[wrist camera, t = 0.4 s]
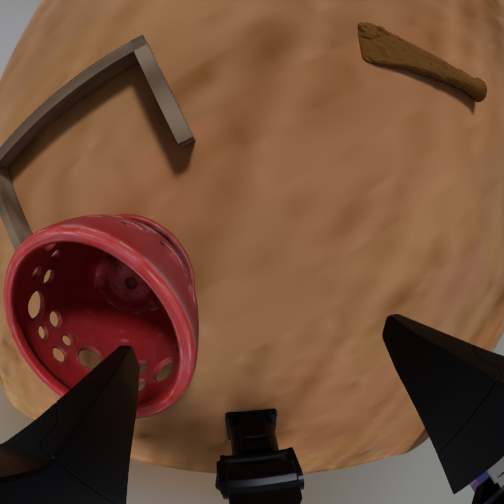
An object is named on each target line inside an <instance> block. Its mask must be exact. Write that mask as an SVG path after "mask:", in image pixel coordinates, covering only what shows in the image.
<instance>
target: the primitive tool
mask: <svg viewBox="0 0 504 504" xmlns="http://www.w3.org/2000/svg"><path fill="white" fill-rule="evenodd" d="M358 37H359V43H360V48H361V53H362V57H363V59H364V60H365V61H366V62H370V63H374V64H379V65H383V66H389V67H395V68H400V69H406V70H409V71H413V72H416V73H418V74H422V75H423V74H424V75H426V76H429V77H432V78H435V79H438V80H440V81H443V82H446V83H448V84H451V85H454V86H455V87H457V88H460V89H462V90H463V91H465V92H467V93H468V94H470V96H471V97H472V98H473V100H474V101H476V102H481V101H483V100H484V98H485V97H486V94H487V86H486V84H485V82H484V81H482V80H481V79H479V78H473V77H471V76H470V75H468V74H467V73H465V72H463V71H462V70H460V69H457V68H455V67H453V66H452V65H450V64H448V63H447V62H445V61H444V60H442V59H440V58H438V57H436V56H434V55H433V54H431V53H429V52H427V51H425V50H423V49H421V48H419V47H417V46H416V45H414V44H412V43H410V42H408V41H406V40H404V39H402V38H400V37H399V36H397V35H394V34H392V33H391V32H388V31H386V30H385V29H384V28H383V27H382V26H375V25H373V24H371V23H359V24H358Z"/></svg>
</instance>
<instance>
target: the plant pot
mask: <svg viewBox="0 0 504 504" xmlns="http://www.w3.org/2000/svg"><path fill="white" fill-rule="evenodd" d="M55 251H56V253H55V254H54V255H53V256H52V254H53V253H54V252H55ZM36 267H37V270H36V271H35V273H34V274H33V272H34V270H35V269H36ZM50 269H51V273H50V277H49V279H48V280H47V282H45V283H44V276H45V274H46V272H47V271H48V270H50ZM35 291H38V293H39V295H40V310H39V313H38V315H37V316H36V317H35V318H31V317H30V315H29V312H28V304H29V300H30V298H31V296H32V295H33V293H34V292H35ZM4 306H5V312H6V318H7V322H8V325H9V328H10V331H11V334H12V337H13V339H14V341H15V343H16V346H17V347H18V349H19V351H20V353H21V354H22V356H23V358H24V359H25V361H26V362H27V363H28V365H29V366H30V367H31V369H32V370H33V371H34V372H35V373H36V375H37V376H38V377H39V378H40V379H41V380H42V381H43V382H44V383H45V384H46V385H47V386H48V387H49V388H50V389H51V390H53V391H54V392H55V393H56V394H58V395H59V396H61V397H62V396H63V395H65V394H66V393H67V392H68V391H69V390H70V389H71V388H72V387H74V386H75V385H76V384H77V383H78V382H79V381H80V380H81V379H83V378H84V377H85V376H86V375H87V374H88V373H89V372H90V371H92V370H93V369H89V368H87V367H85V366H83V365H82V364H81V362H80V360H79V357H78V354H79V352H80V351H82V350H90V351H93V352H95V353H96V354H97V355H99V357H100V358H101V360H102V361H103V360H104V359H105V358H106V357H108V356H109V355H110V354H111V353H112V352H113V351H114V350H116V349H117V348H118V347H119V346H122V345H130V346H132V347H133V349H134V352H135V354H136V357H137V360H138V362H139V366H141V365H143V364H146V365H148V367H147V369H146V371H145V372H143V373H140V374H139V384H140V383H146V385H145V387H144V388H143V389H142V390H141V391H139V392H138V403H137V412H136V418H143V417H148V416H152V415H155V414H158V413H160V412H162V411H164V410H166V409H167V408H169V407H170V406H172V405H173V404H174V403H176V402H177V401H178V400H179V399H180V398H181V396H182V395H183V394H184V392H185V391H186V389H187V388H188V386H189V384H190V382H191V379H192V377H193V374H194V371H195V367H196V361H197V351H198V337H199V321H198V306H197V300H196V296H195V279H194V272H193V268H192V265H191V262H190V259H189V257H188V255H187V253H186V251H185V250H184V248H183V246H182V245H181V244H180V242H179V241H178V240H177V238H176V237H175V236H174V235H173V234H172V233H171V232H169V231H168V230H167V229H166V228H165V227H163V226H162V225H160V224H158V223H157V222H155V221H153V220H150V219H148V218H145V217H142V216H138V215H129V214H123V215H116V216H115V215H89V216H82V217H77V218H72V219H68V220H65V221H62V222H58V223H56V224H53V225H51V226H48V227H46V228H44V229H41V230H39V231H37V232H36V233H34V234H32V235H31V236H30V237H29V238H27V239H26V240H25V241H24V242H23V243H22V244H21V245H20V246H19V247H18V249H17V250H16V252H15V253H14V255H13V257H12V259H11V261H10V263H9V266H8V270H7V273H6V277H5V284H4ZM52 311H54V312H55V313H56V314H57V317H58V325H57V326H56V327H54V326H53V325H52V324H51V322H50V313H51V312H52ZM40 326H41V327H42V328H43V329H44V333H45V336H44V338H43V339H42V338H41V337H40V335H39V332H38V330H39V327H40ZM64 335H65V336H67V337H69V339H70V341H71V345H70V346H67V345H65V343H64V342H63V340H62V337H63V336H64ZM53 348H58V349H59V350H60V351H61V352H62V353H63V355H64V361H63V362H59V361H58V360H56V359H55V357H54V355H53ZM171 362H173V367H172V369H171V372H170V373H169V375H168V376H167V377H166V378H165V379H163V380H162V381H156V378H157V374H158V373H159V371H160V370H161V369H162V368H163V367H164V366H166V365H167V364H169V363H171ZM136 418H135V419H136Z"/></svg>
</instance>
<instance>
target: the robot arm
mask: <svg viewBox="0 0 504 504" xmlns="http://www.w3.org/2000/svg"><path fill="white" fill-rule="evenodd" d="M382 337H383V340H384V343H385V345H386V347H387V350H388V352H389V355H390V357H391V359H392V362H393V364H394V367H395V369H396V371H397V373H398V375H399V377H400V379H401V381H402V382H403V384H404V386H405V388H406V390H407V392H408V394H409V396H410V398H411V400H412V402H413V404H414V406H415V408H416V410H417V412H418V414H419V416H420V418H421V420H422V422H423V424H424V426H425V428H426V430H427V433H428V435H429V437H430V439H431V441H432V444H433V446H434V448H435V450H436V453H437V454H438V457H439V460H440V462H441V464H442V467H443V469H444V472H445V474H446V477H447V479H448V482H449V484H450V487H451V489H452V492H453V493H454V494H455V493H457V492H459V491H460V490H462V489H463V488H464V487H466V486H467V485H469V484H470V483H472V482H473V481H474V480H476V479H477V478H478V477H480V476H481V475H482V474H483V473H485V472H486V471H487V472H488V474H489V477H488V478H486V479H485V480H484V481H483V482H482V483H481V484H479V485H478V486H477V487H476V490H475V494H474V498H473V502H472V504H504V356H502V355H499V354H496V353H493V352H490V351H488V350H485V349H482V348H480V347H477V346H475V345H471V344H470V343H467V342H465V341H463V340H460V339H458V338H455V337H453V336H450V335H448V334H445V333H443V332H441V331H438V330H436V329H433V328H431V327H428V326H426V325H424V324H421V323H419V322H416V321H414V320H411V319H409V318H406V317H404V316H402V315H399V314H394V315H390V316H388V317H387V319H386V322H385V326H384V330H383V334H382ZM139 372H140V366H139V362H138V360H137V357H136V354H135V352H134V349H133V347H132V346H130V345H122V346H119V347H118V348H117V349H116V350H114V351H113V352H112V353H111V354H110V355H109V356H108V357H106V358H105V359H104V360H103V361H102V362H101V363H100V364H98V365H97V366H96V367H95V368H94V369H93V370H92V371H90V372H89V373H88V374H87V375H86V376H85V377H84V378H83V379H81V380H80V381H79V382H78V383H77V384H76V385H75V386H74V387H72V388H71V389H70V390H69V391H68V392H67V393H66V394H65V395H63V396H62V397H61V398H60V399H59V400H58V401H57V402H56V403H54V404H53V405H52V406H51V407H50V408H49V409H48V410H47V411H45V412H44V413H43V414H42V415H41V416H40V417H38V418H37V419H36V420H35V421H33V422H32V423H31V424H29V425H28V426H27V427H25V428H24V429H23V430H21V431H20V432H19V433H17V434H16V435H14V436H13V437H12V438H11V439H9V440H8V441H6V442H4V443H2V444H0V504H126V496H127V482H128V472H129V462H130V454H131V446H132V438H133V431H134V425H135V418H136V412H137V403H138V386H139ZM276 418H277V411H276V409H267V410H257V411H244V412H229V413H226V423H227V432H228V439H229V440H231V444H232V455H230V456H225V455H220V460H219V461H218V462H216V463H217V476H216V488H217V489H218V490H219V491H220V492H221V494H222V495H223V498H224V499H229V504H300V503H301V500H302V495H301V490H303V489H304V479H303V474H302V470H301V467H300V465H299V462H298V460H297V457H296V455H295V452H294V450H293V448H292V447H290V448H288V449H283V450H279V447H278V443H277V439H276V435H275V427H276Z"/></svg>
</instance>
